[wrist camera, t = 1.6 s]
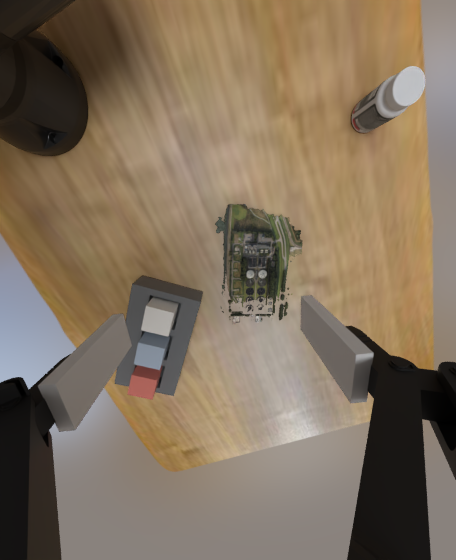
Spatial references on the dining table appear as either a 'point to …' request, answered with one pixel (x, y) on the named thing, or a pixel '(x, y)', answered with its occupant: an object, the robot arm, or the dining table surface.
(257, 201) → the dining table surface
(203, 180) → the dining table surface
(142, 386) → the red key
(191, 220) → the dining table surface
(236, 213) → the treatment plant
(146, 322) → the white key
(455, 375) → the robot arm
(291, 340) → the dining table surface
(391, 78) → the pill bottle
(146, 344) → the blue key
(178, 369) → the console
